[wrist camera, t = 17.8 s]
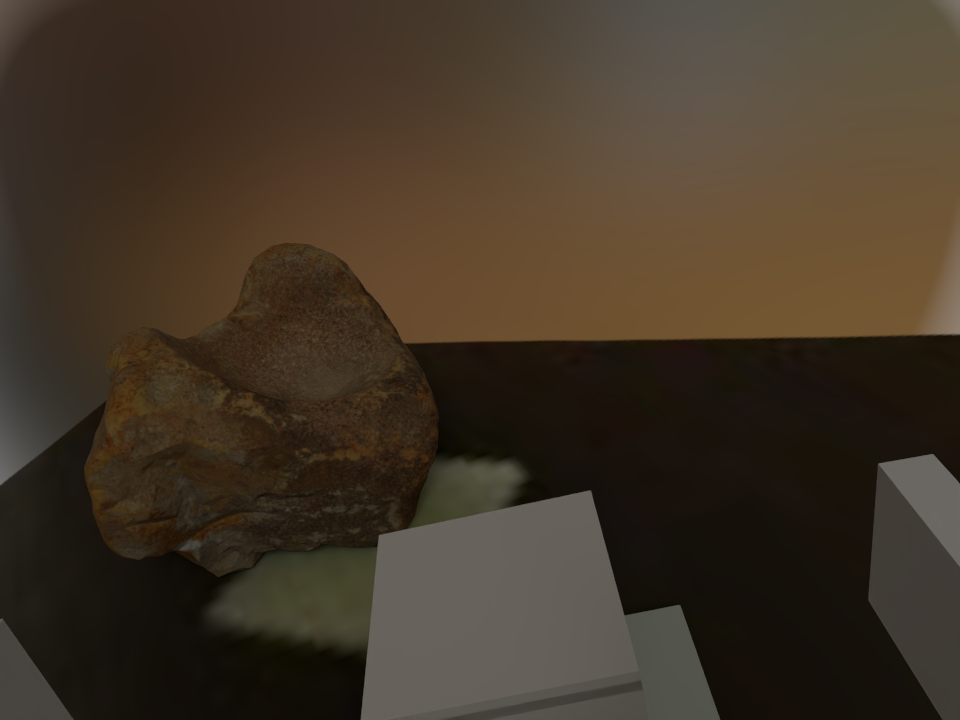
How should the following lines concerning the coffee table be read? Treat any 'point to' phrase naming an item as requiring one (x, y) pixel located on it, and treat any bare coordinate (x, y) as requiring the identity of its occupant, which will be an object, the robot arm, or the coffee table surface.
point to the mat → (669, 666)
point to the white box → (501, 620)
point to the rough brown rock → (264, 424)
